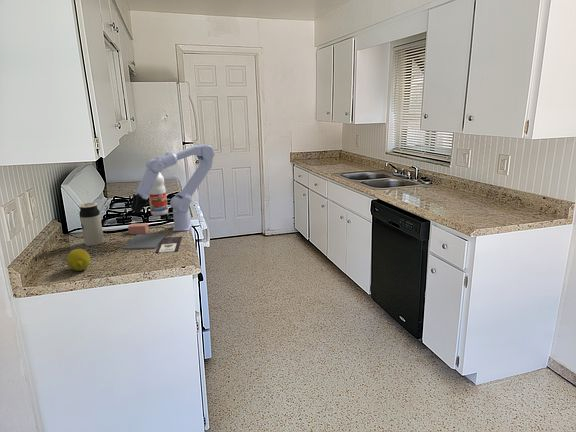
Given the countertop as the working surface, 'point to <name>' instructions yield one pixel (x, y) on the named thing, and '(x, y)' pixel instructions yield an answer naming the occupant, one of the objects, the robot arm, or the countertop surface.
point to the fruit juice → (158, 197)
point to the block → (138, 228)
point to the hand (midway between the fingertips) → (134, 211)
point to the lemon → (78, 259)
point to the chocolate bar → (169, 244)
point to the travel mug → (91, 224)
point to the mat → (145, 241)
